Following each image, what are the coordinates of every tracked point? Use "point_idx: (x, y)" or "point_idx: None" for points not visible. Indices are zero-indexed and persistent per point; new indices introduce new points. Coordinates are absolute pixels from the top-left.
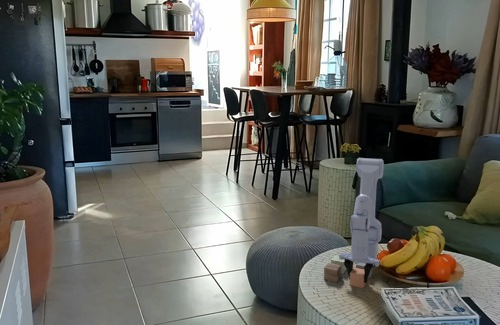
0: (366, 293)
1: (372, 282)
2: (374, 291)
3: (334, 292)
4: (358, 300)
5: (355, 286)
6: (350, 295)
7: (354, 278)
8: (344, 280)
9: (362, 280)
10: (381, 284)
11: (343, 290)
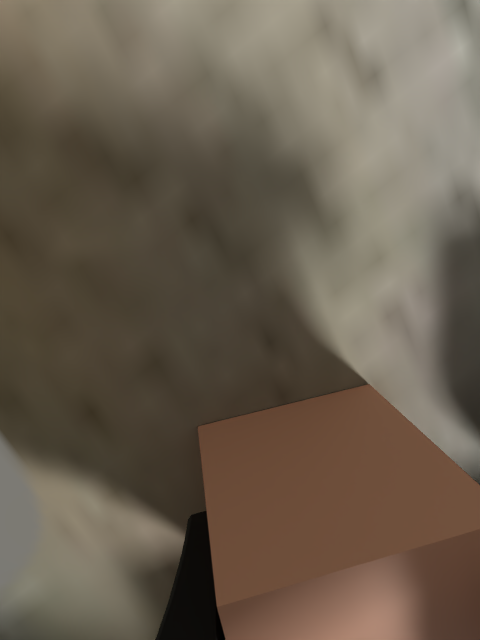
0: (83, 329)
1: None
2: (29, 446)
3: (476, 60)
4: (50, 27)
5: (296, 402)
6: (241, 120)
7: (363, 469)
8: (459, 443)
9: (221, 502)
10: (68, 630)
11: (386, 205)
